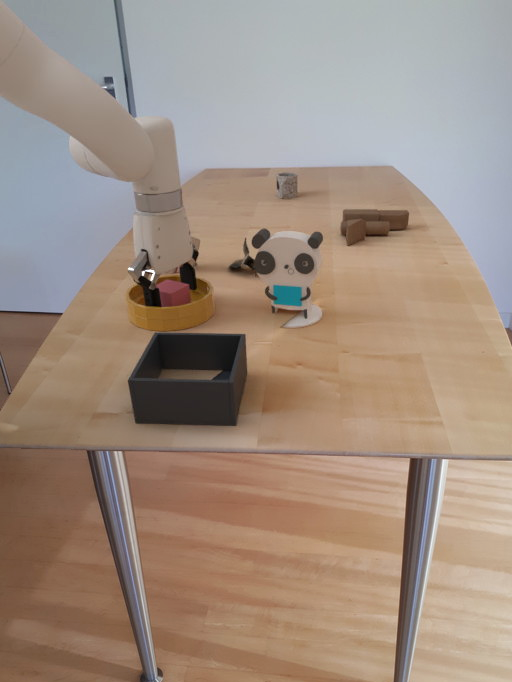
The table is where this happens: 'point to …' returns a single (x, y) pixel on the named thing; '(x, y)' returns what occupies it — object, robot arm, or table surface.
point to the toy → (174, 293)
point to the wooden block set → (371, 222)
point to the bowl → (171, 308)
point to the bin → (190, 394)
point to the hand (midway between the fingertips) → (172, 298)
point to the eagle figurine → (245, 259)
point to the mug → (287, 185)
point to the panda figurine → (289, 272)
